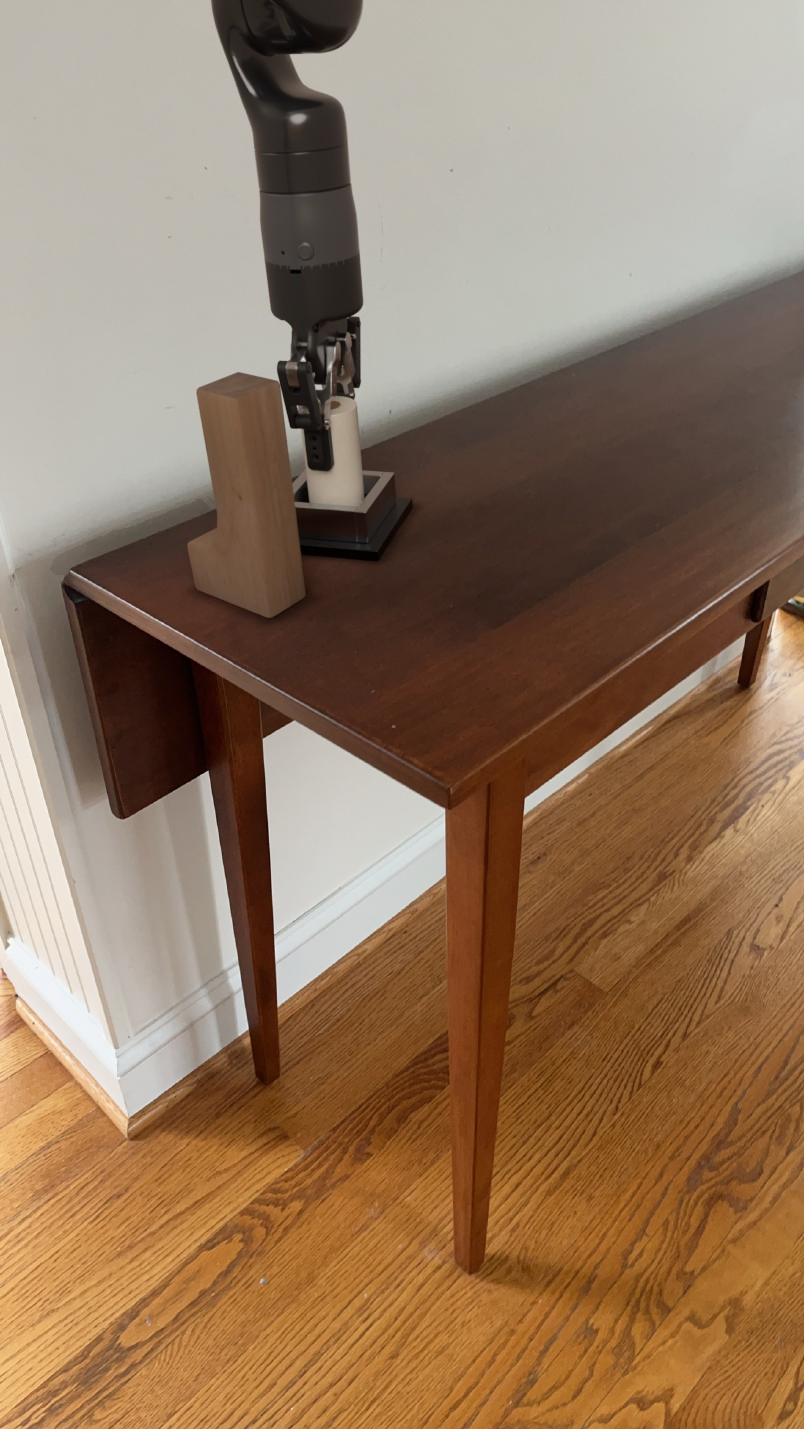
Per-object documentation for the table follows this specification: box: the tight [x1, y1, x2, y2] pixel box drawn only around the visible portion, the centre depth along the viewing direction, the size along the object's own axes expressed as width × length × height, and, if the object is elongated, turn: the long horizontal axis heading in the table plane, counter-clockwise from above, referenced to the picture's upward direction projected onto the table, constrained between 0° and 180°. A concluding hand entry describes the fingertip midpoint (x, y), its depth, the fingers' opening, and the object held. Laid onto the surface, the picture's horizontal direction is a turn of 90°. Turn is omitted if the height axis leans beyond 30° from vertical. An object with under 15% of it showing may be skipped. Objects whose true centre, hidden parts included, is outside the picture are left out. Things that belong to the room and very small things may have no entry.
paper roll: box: [300, 396, 365, 507], centre depth 90 cm, size 5×5×10 cm
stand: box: [292, 468, 413, 562], centre depth 93 cm, size 11×11×4 cm
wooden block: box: [186, 371, 307, 619], centre depth 80 cm, size 9×4×18 cm, turn 52°
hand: (332, 455), depth 90 cm, fingers closed on paper roll, 5 cm apart
